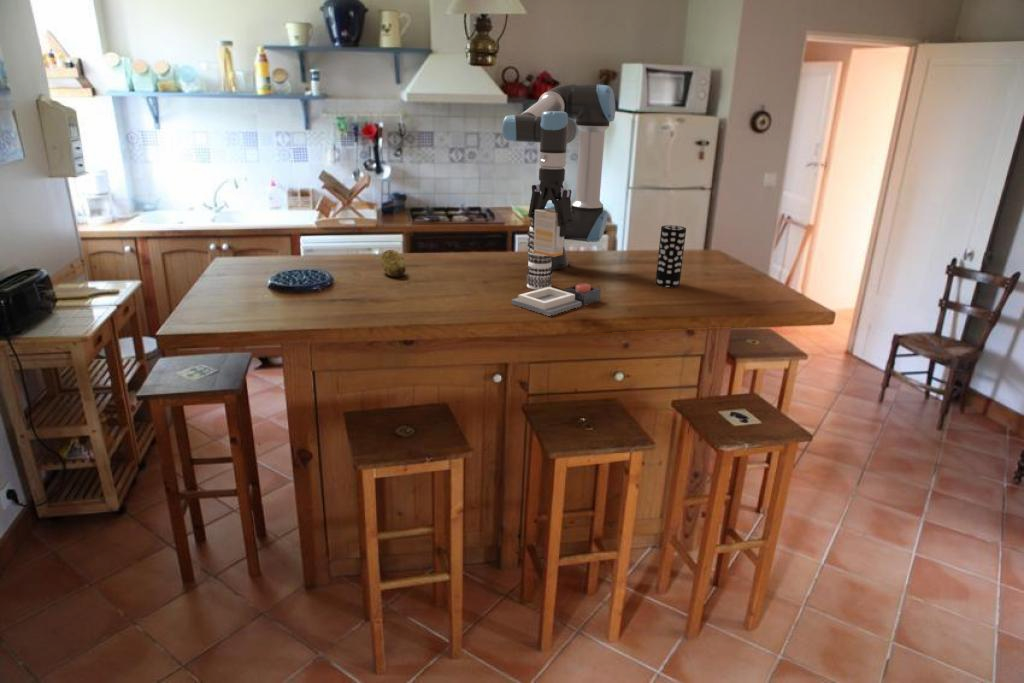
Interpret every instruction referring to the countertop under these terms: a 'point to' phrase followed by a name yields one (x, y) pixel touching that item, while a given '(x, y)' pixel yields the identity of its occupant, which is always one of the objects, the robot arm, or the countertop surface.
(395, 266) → the potato
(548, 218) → the supplement box
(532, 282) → the decorative candle
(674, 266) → the spotted tube
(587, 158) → the robot arm
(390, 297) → the countertop surface
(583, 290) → the button
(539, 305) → the plate
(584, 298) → the button housing
